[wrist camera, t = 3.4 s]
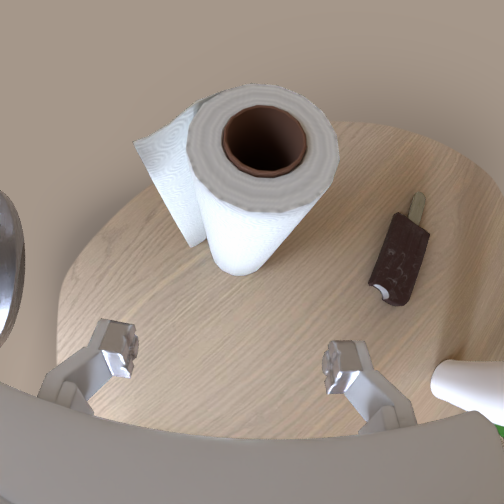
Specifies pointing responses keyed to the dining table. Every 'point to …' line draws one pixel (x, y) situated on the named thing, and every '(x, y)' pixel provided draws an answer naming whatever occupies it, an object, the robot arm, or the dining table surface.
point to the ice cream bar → (401, 255)
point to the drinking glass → (472, 386)
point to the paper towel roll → (242, 170)
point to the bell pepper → (500, 429)
